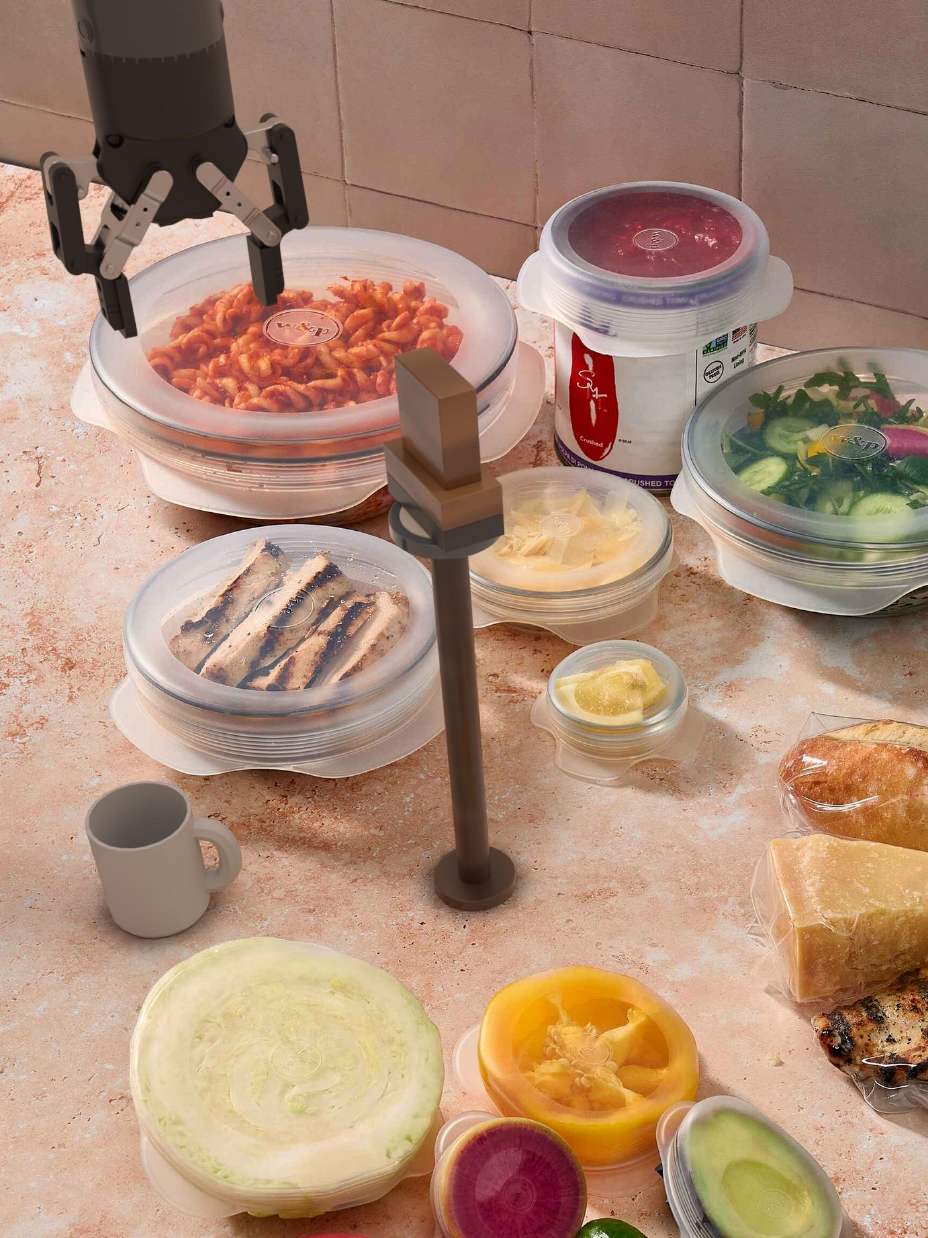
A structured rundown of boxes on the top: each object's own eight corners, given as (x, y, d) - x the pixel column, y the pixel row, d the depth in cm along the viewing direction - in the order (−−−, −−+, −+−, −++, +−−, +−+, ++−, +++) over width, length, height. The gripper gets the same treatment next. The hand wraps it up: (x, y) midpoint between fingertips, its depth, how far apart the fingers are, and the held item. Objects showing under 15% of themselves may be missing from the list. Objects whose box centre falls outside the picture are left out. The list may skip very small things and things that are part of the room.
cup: (116, 874, 124) (90, 784, 118) (252, 863, 125) (234, 774, 119) (105, 945, 119) (78, 855, 113) (248, 933, 120) (229, 843, 114)
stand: (457, 922, 121) (423, 565, 100) (421, 872, 125) (381, 518, 104) (530, 892, 123) (512, 537, 102) (492, 843, 127) (468, 491, 106)
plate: (419, 572, 99) (418, 556, 99) (371, 516, 104) (369, 501, 103) (523, 539, 102) (522, 523, 101) (471, 486, 106) (470, 471, 106)
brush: (504, 534, 100) (497, 392, 94) (445, 553, 99) (433, 410, 92) (446, 474, 105) (434, 334, 99) (388, 491, 104) (373, 350, 97)
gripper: (253, -12, 92) (287, 267, 103) (-7, 25, 87) (58, 316, 98) (305, 28, 88) (335, 317, 99) (34, 70, 82) (97, 371, 93)
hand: (197, 316), depth 98 cm, fingers open, 8 cm apart
